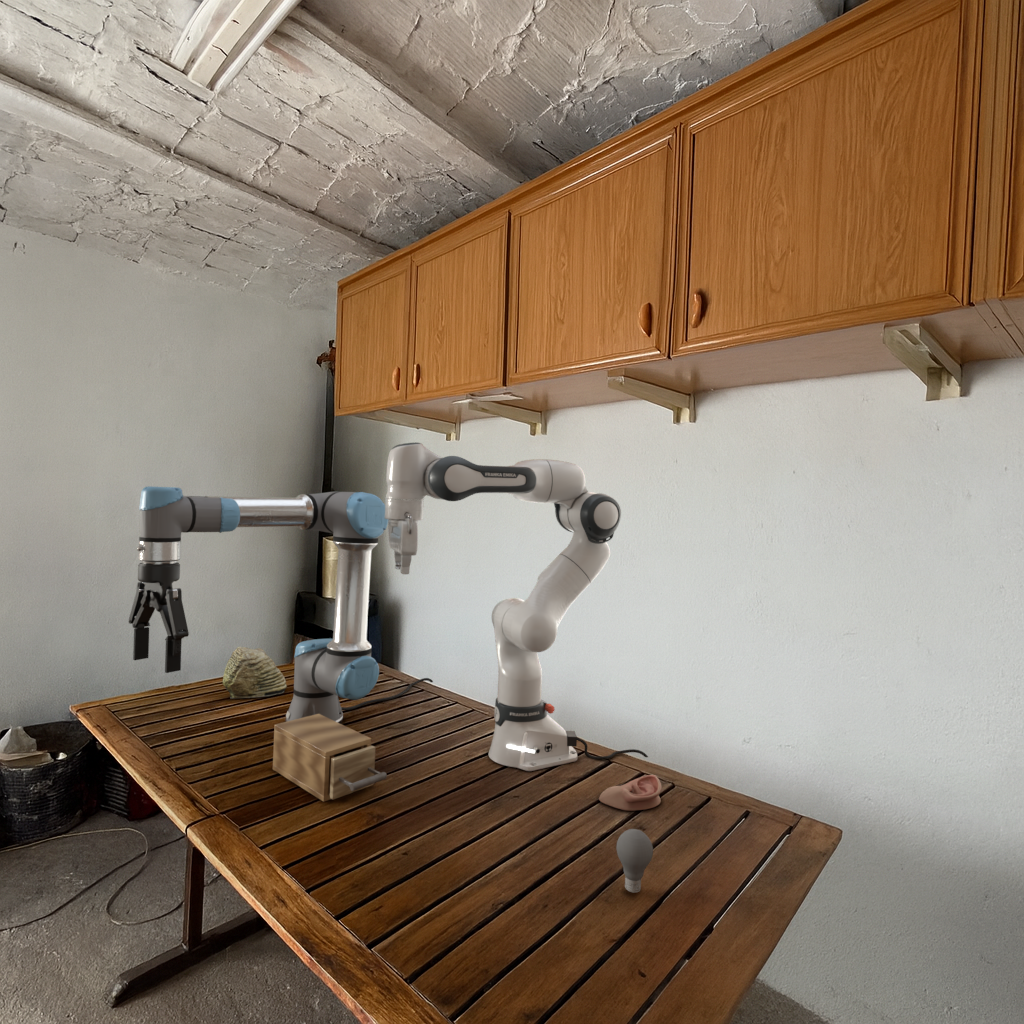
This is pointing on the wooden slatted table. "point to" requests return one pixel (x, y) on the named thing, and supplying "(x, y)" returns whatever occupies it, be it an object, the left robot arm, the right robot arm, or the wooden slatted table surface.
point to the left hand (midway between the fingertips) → (156, 665)
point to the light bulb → (634, 857)
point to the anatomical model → (634, 794)
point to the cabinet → (312, 750)
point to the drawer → (353, 771)
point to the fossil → (252, 674)
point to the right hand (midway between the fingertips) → (401, 571)
